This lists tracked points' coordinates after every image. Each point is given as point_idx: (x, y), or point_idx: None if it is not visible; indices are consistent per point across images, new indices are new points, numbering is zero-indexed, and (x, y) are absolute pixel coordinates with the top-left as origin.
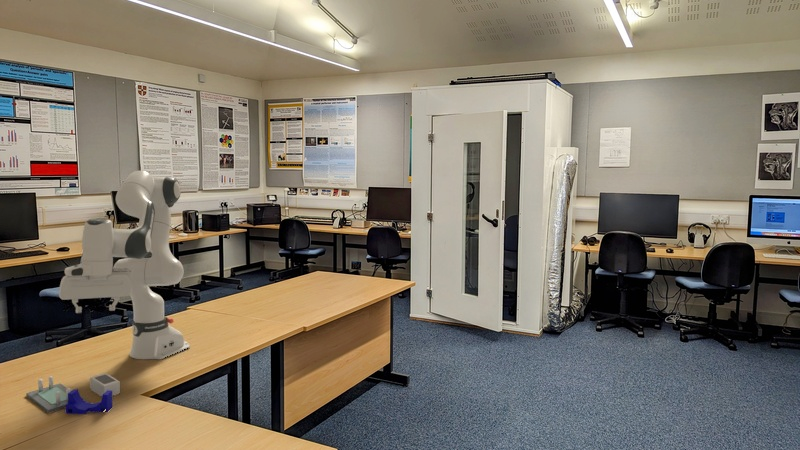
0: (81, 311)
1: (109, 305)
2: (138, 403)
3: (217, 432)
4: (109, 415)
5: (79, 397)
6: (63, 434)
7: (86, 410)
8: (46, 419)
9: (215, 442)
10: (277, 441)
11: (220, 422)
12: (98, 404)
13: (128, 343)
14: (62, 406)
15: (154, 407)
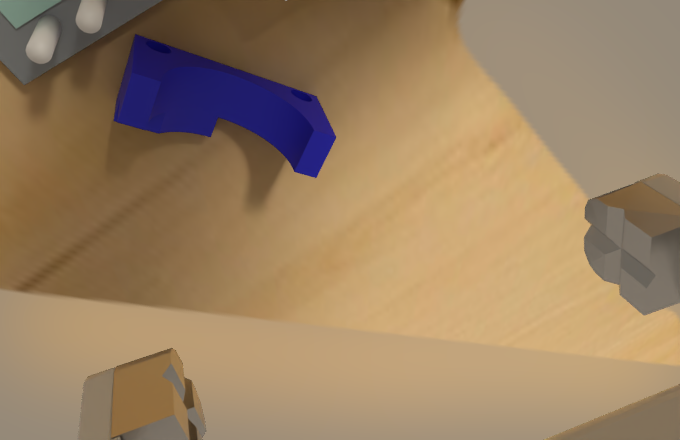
0: (201, 426)
1: (643, 256)
2: (420, 82)
3: (584, 312)
4: None
5: (169, 78)
6: (162, 261)
7: (213, 126)
8: (45, 138)
9: (561, 349)
10: (673, 358)
11: None
12: (267, 140)
13: None
14: (81, 48)
15: (471, 134)
